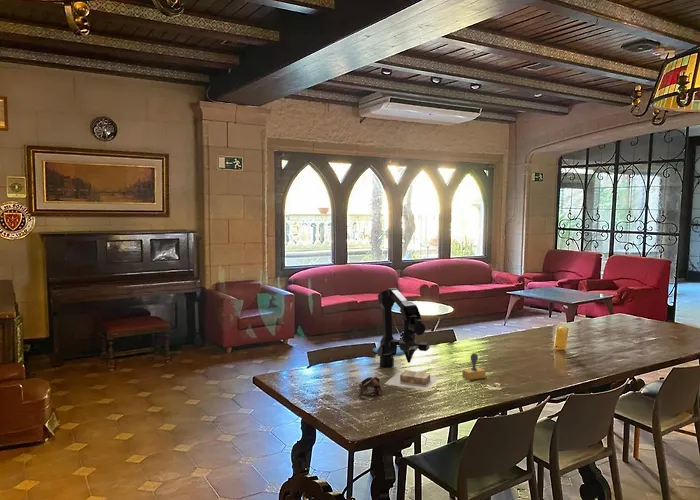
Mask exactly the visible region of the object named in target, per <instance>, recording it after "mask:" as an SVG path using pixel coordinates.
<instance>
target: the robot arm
mask: <svg viewBox="0 0 700 500" xmlns="http://www.w3.org/2000/svg"><path fill="white" fill-rule="evenodd" d="M377 300H378V305H379V306H380V308H381V313H382V314H381V315H382V337H381V339H380V342H379V348H378V350H377V353H376V354H377V356H379V366H378V367H379V368H383V369H384V368H385V369H392V368H393V367H394V366H395V358H394V356H393V355H396V351H397V347H399V348H400V350H402V351H403V352H404V353H405V354H404V356H405V358H406V361H407V363H408V364H409V363H411V362H412V361H411V360H412V358H413V356H414V353H415V352H416V351H421V352H427V351H428V350H429V349H430V343H429V342H426V341H421V342H420V343H417V340H416V335H417V336H422V335H424V333H425V332H426V325H425V324H424V323H422V315H421V313H420V310H419V308H418V306H417V304H415V303H414V302H413V301H409V300H407V298H406V297H405V296H404V295H403V294H402V293H401V292H400V290H399V288H397V287H392V288H391V287H390V288H388V289H386V290H383V291H380V292H379V293H378V294H377ZM395 304H396V305H397V306H398V308H399V309H400V310H399V313H400V314H401V316H402V317H401V320H402V321H403V322H402V327H403V328H402V330H403V331H402V335H401V338H400V339H398V338H397V339H395V338H394V336H393V316H392V315H393V314H392V312H393V310H392V308H393V306H394V305H395Z"/></svg>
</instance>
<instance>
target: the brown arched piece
mask: <svg viewBox="0 0 700 500" xmlns="http://www.w3.org/2000/svg"><path fill="white" fill-rule="evenodd" d="M380 382H381V381H380V379H379V378H378V376H374V377H372V376H369V377H366V378H365V379H363V380H362V381H361V382H360V383H359V385H358V387H359V392H360V393H363V392H368V390H369V388H370V389H373V390H378V391H377V393H378V395H379V397H380V396H382V395H383V391H382V387H381V385H380Z"/></svg>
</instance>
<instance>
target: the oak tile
mask: <svg viewBox="0 0 700 500" xmlns="http://www.w3.org/2000/svg"><path fill="white" fill-rule="evenodd" d="M402 372H403V373H402V374H401V375H400V381H401V382H408V383H415V384H422V385H426V384H427V383H428V382H429V381H430V376H431V373H429V372H421V371H414V370H404V371H402Z"/></svg>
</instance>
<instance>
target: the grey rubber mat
mask: <svg viewBox="0 0 700 500" xmlns="http://www.w3.org/2000/svg"><path fill="white" fill-rule="evenodd" d="M403 372H404V371H397V372H396V373H395V374H393V376H392V377H391V378H390V379H388V380H387V381H386V382H385V383H384V385H388V386H389V385H390V386H394V387H395V386H397V387H402V388H409V389H416V390H423V391H429V390H430V389H431V387H432V386H433V385H434V384H435V383H436V382H437V381H438V380H439V378H440V377H439V376H432V375H430V381H429V382H428V383H427V384H426V385H422V384H415V383H408V382H401V381H400V375H401V374H402V373H403Z"/></svg>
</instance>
